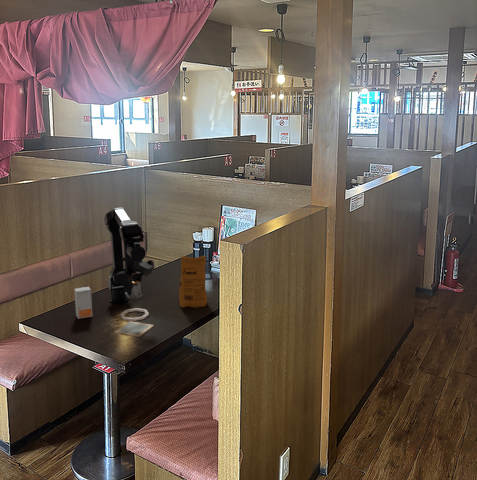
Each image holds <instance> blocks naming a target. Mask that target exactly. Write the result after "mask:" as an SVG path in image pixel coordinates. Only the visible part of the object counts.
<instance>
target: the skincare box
mask: <svg viewBox="0 0 477 480" xmlns="http://www.w3.org/2000/svg"><path fill="white" fill-rule="evenodd" d="M73 291H74V301H75V302H74V305H75V306H74V307H75V316H76V318H77V319H78V320H79V319H85V318H92V317H93V303H92V289H91V288H90V286H83V287H77V288H74V290H73Z"/></svg>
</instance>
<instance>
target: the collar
mask: <svg viewBox="0 0 477 480" xmlns="http://www.w3.org/2000/svg"><path fill="white" fill-rule="evenodd" d="M131 312H140V313H143V315H142V316H136V317H131V316H130V317H129V316H125V315H126V314H127V313H131ZM149 315H150V313H149V311H148V310H147V309H145V308H140V307H134V308H130V309H129V308H128V309H124V311H122V312H120V317H121V319H122V320H124V321H128V322H129V321H132V322H137V321H142V320H144V319H146V318H148V316H149Z"/></svg>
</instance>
